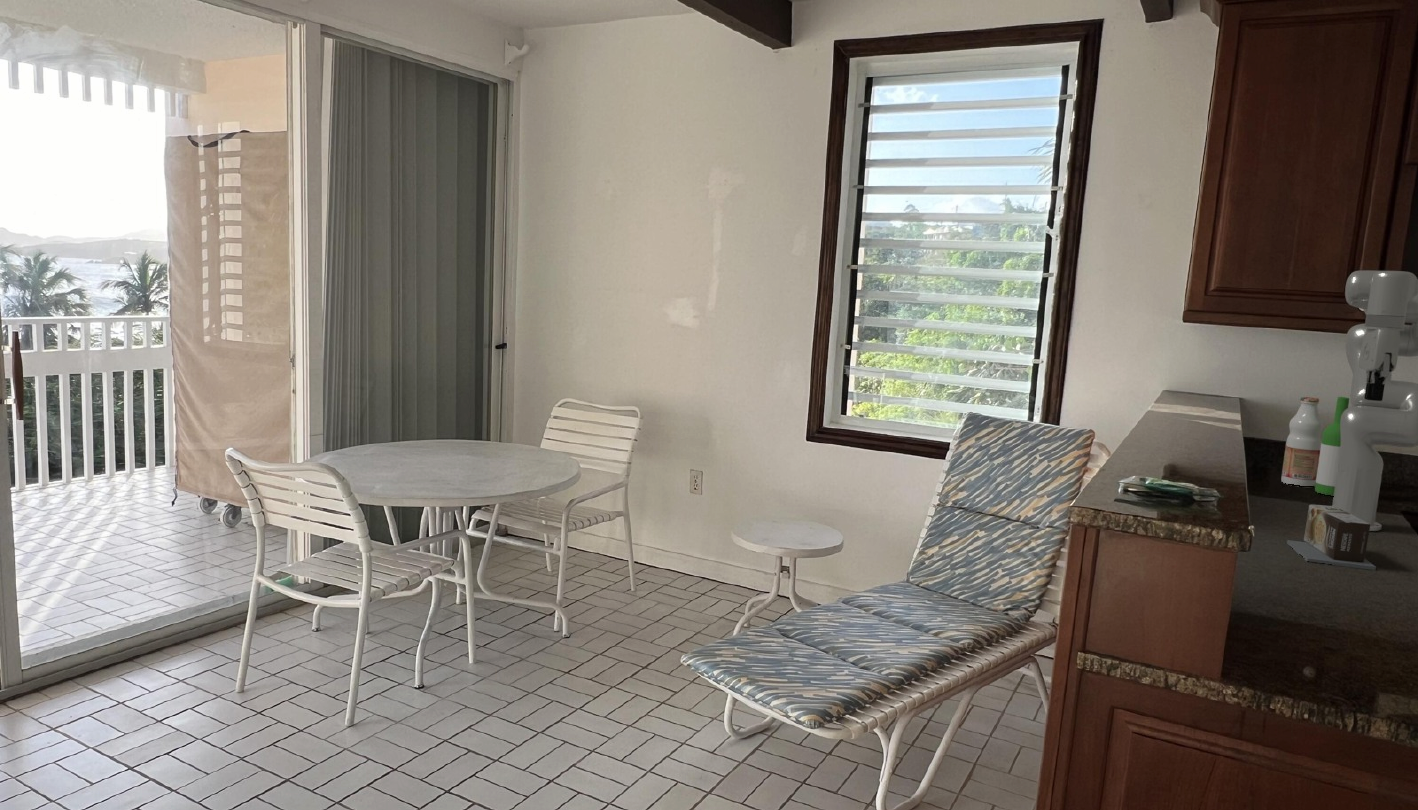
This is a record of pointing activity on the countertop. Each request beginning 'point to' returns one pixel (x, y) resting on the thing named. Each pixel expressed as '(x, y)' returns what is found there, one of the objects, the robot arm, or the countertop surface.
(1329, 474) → the wine bottle
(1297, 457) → the fruit juice
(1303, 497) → the countertop surface
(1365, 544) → the coffee box
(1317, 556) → the rubber mat
